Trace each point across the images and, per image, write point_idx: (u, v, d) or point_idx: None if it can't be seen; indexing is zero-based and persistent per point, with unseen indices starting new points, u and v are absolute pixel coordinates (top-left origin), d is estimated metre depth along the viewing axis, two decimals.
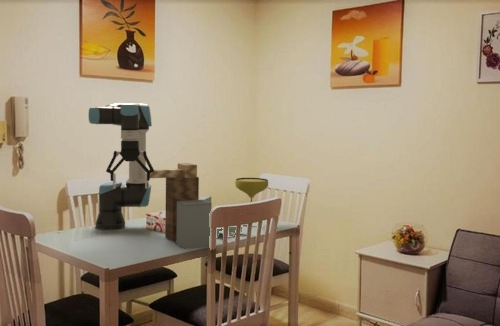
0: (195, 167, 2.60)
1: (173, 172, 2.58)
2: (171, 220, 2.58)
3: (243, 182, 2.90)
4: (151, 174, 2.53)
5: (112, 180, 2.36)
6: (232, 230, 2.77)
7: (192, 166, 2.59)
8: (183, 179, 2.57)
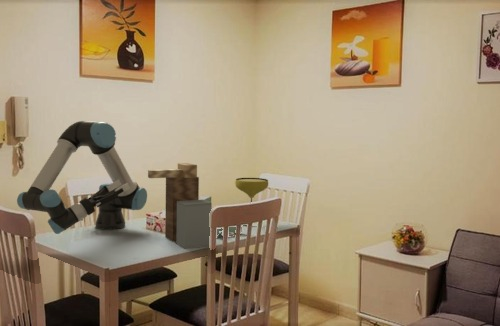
0: (195, 167, 2.60)
1: (173, 172, 2.58)
2: (171, 220, 2.58)
3: (243, 182, 2.90)
4: (151, 174, 2.53)
5: None
6: (232, 230, 2.77)
7: (192, 166, 2.59)
8: (183, 179, 2.57)
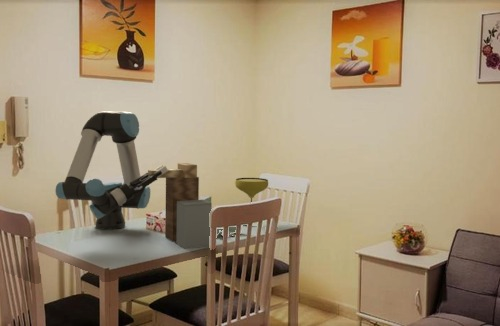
0: (195, 167, 2.60)
1: (173, 172, 2.58)
2: (171, 220, 2.58)
3: (243, 182, 2.90)
4: (151, 174, 2.53)
5: None
6: (231, 230, 2.77)
7: (192, 166, 2.59)
8: (183, 179, 2.57)
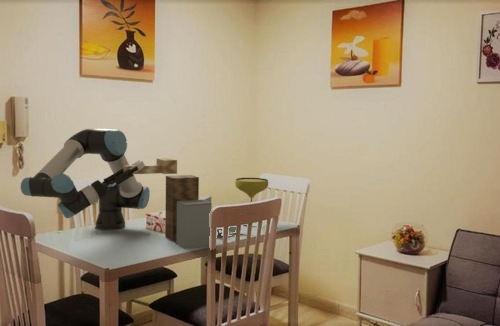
0: (175, 162, 2.39)
1: (150, 167, 2.37)
2: (171, 220, 2.58)
3: (243, 182, 2.90)
4: (126, 170, 2.32)
5: None
6: (231, 230, 2.78)
7: (172, 161, 2.38)
8: (183, 179, 2.57)
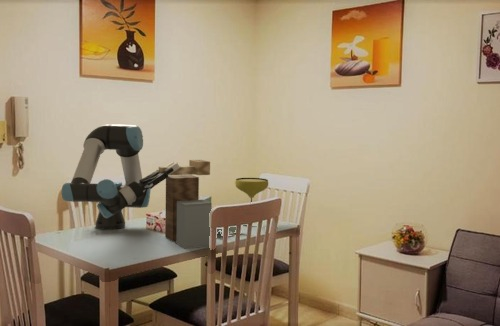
0: (208, 164, 2.46)
1: (185, 169, 2.45)
2: (171, 220, 2.58)
3: (243, 182, 2.90)
4: (162, 171, 2.40)
5: None
6: (231, 229, 2.78)
7: (205, 163, 2.46)
8: (183, 179, 2.57)
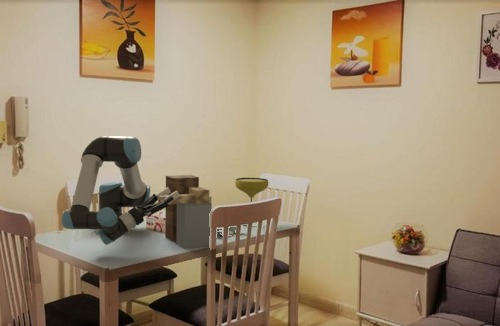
0: (207, 192, 2.47)
1: (184, 197, 2.46)
2: (171, 220, 2.58)
3: (243, 182, 2.90)
4: (161, 200, 2.41)
5: None
6: (231, 229, 2.78)
7: (204, 191, 2.47)
8: (183, 179, 2.57)
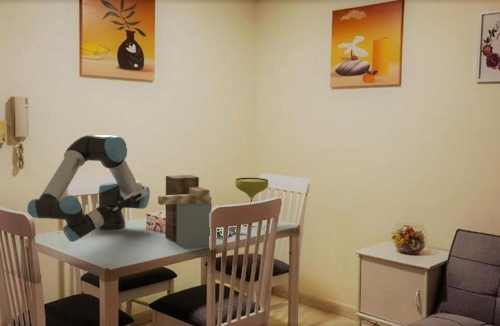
0: (207, 192, 2.47)
1: (184, 197, 2.46)
2: (171, 220, 2.58)
3: (243, 182, 2.90)
4: (161, 200, 2.41)
5: (130, 199, 2.45)
6: (230, 229, 2.78)
7: (204, 191, 2.47)
8: (183, 179, 2.57)
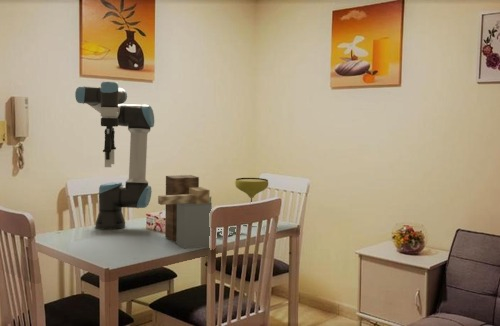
0: (207, 192, 2.47)
1: (184, 197, 2.46)
2: (171, 220, 2.58)
3: (243, 182, 2.90)
4: (161, 200, 2.41)
5: (109, 159, 2.33)
6: (230, 229, 2.79)
7: (204, 191, 2.47)
8: (183, 179, 2.57)
